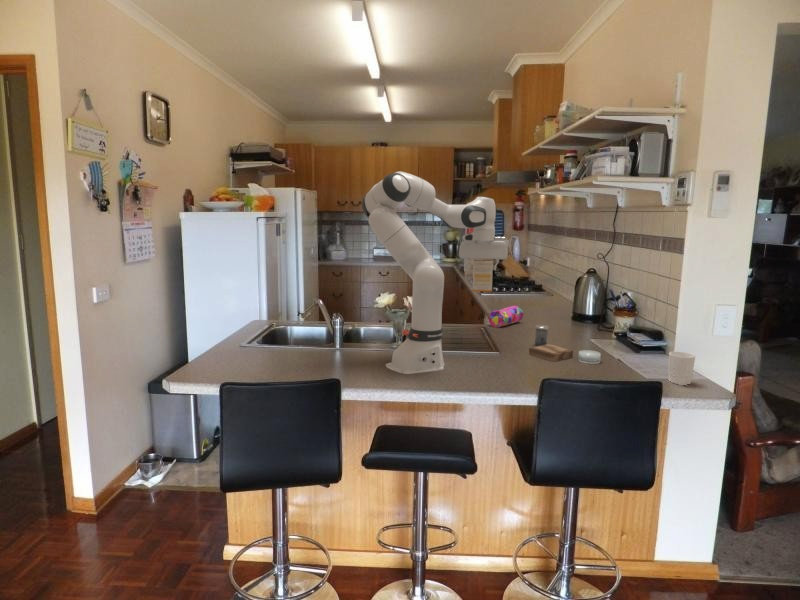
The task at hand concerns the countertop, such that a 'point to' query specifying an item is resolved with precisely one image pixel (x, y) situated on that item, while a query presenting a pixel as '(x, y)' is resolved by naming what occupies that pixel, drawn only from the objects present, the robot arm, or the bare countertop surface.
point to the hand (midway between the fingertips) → (482, 269)
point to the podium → (551, 352)
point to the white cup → (680, 367)
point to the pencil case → (505, 316)
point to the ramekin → (589, 356)
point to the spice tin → (541, 335)
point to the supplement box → (482, 275)
